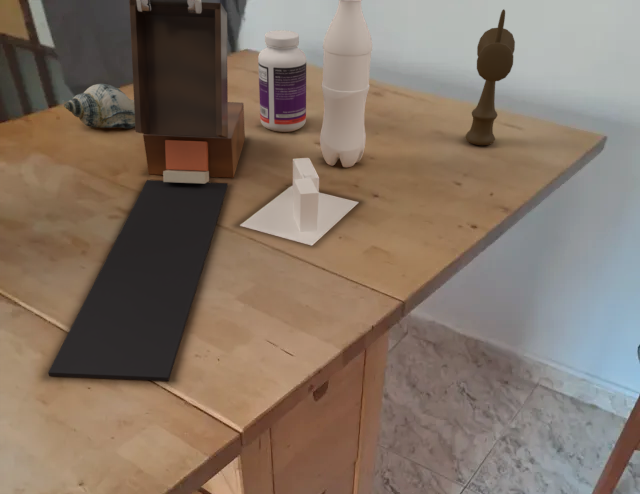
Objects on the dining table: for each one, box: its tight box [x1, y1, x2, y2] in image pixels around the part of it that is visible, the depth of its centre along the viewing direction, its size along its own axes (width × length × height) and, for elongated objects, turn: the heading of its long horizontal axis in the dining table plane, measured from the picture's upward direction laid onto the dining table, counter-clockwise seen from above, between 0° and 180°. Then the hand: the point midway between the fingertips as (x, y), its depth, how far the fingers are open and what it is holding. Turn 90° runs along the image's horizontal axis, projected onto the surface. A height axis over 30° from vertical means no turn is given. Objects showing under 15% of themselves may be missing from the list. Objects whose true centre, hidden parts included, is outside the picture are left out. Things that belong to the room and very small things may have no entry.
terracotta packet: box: [165, 140, 208, 171], centre depth 101 cm, size 4×6×2 cm
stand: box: [142, 101, 246, 178], centre depth 108 cm, size 16×13×6 cm
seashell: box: [63, 83, 135, 130], centre depth 117 cm, size 6×8×12 cm
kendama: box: [465, 8, 516, 146], centre depth 111 cm, size 6×10×20 cm, turn 168°
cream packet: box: [162, 169, 210, 184], centre depth 101 cm, size 4×6×2 cm, turn 88°
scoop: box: [128, 0, 229, 138], centre depth 93 cm, size 16×12×9 cm
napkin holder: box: [239, 157, 359, 246], centre depth 94 cm, size 15×11×6 cm
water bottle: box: [319, 0, 373, 168], centre depth 102 cm, size 7×7×25 cm
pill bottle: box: [257, 29, 307, 133], centre depth 116 cm, size 8×8×14 cm
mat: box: [47, 179, 229, 382], centre depth 85 cm, size 46×12×1 cm, turn 178°
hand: (170, 11), depth 87 cm, fingers closed on scoop, 5 cm apart
